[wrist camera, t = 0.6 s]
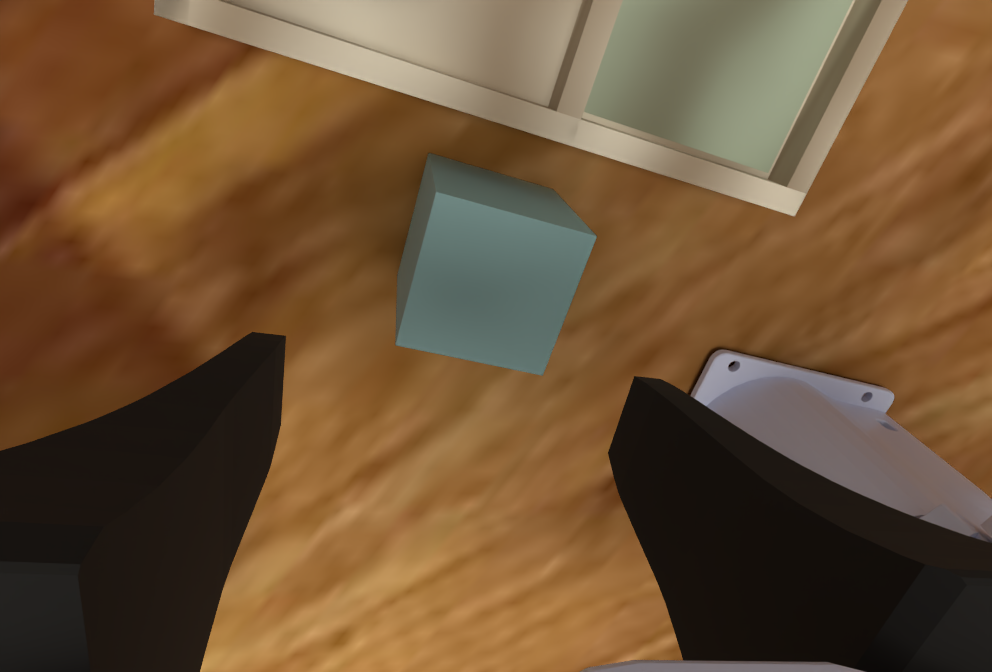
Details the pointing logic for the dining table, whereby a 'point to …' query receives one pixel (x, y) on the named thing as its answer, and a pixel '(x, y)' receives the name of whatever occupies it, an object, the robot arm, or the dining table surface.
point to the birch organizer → (605, 72)
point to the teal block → (488, 267)
